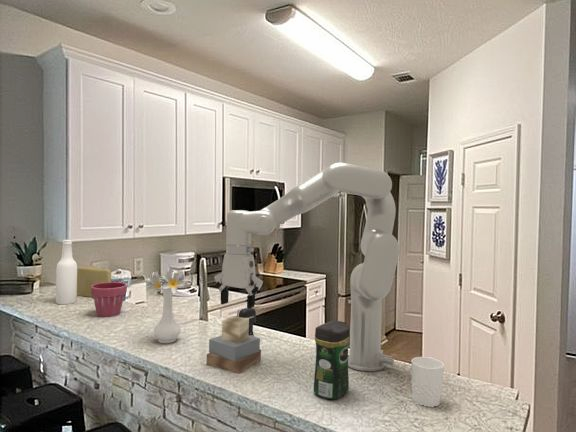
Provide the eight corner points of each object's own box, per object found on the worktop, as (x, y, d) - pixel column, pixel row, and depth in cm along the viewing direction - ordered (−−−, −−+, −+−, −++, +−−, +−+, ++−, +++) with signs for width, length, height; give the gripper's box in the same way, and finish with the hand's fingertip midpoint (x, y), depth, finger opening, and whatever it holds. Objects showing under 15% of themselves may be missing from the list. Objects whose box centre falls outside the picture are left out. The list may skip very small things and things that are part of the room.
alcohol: (51, 303, 193) (52, 240, 192) (67, 299, 201) (68, 238, 200) (64, 305, 190) (65, 241, 189) (80, 302, 198) (81, 239, 197)
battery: (242, 343, 145) (243, 311, 145) (235, 340, 147) (236, 309, 147) (257, 338, 150) (257, 307, 150) (249, 336, 153) (250, 306, 152)
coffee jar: (327, 382, 114) (329, 316, 114) (352, 390, 110) (354, 321, 109) (308, 394, 107) (310, 323, 106) (334, 403, 102) (336, 329, 102)
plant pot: (114, 319, 169) (114, 289, 169) (83, 317, 172) (83, 287, 171) (132, 311, 184) (133, 282, 183) (103, 309, 186) (104, 281, 185)
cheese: (118, 298, 207) (119, 269, 206) (100, 302, 199) (101, 271, 198) (93, 292, 219) (94, 264, 219) (75, 295, 211) (76, 266, 211)
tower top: (259, 351, 128) (259, 338, 128) (234, 361, 119) (234, 347, 119) (234, 343, 134) (234, 331, 134) (208, 352, 126) (209, 339, 126)
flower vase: (161, 331, 156) (162, 265, 155) (197, 340, 146) (198, 270, 146) (132, 340, 145) (133, 269, 144) (169, 351, 135) (170, 275, 135)
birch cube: (248, 337, 128) (248, 318, 128) (239, 343, 123) (239, 323, 123) (231, 334, 130) (232, 316, 130) (221, 340, 125) (222, 320, 125)
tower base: (260, 362, 129) (261, 349, 129) (239, 375, 119) (239, 361, 119) (229, 354, 135) (229, 342, 135) (206, 367, 124) (206, 353, 124)
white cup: (435, 394, 109) (436, 356, 109) (447, 408, 101) (449, 368, 101) (406, 393, 109) (407, 356, 108) (416, 408, 101) (417, 368, 100)
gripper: (268, 251, 125) (267, 306, 126) (222, 247, 133) (221, 299, 134) (256, 253, 119) (254, 312, 119) (208, 249, 127) (207, 304, 127)
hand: (237, 305), depth 126 cm, fingers open, 9 cm apart
